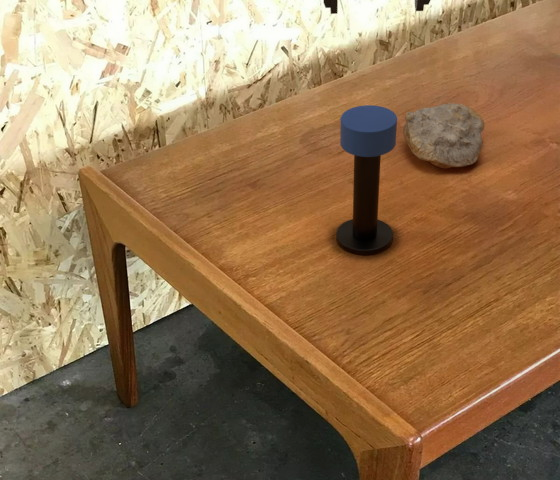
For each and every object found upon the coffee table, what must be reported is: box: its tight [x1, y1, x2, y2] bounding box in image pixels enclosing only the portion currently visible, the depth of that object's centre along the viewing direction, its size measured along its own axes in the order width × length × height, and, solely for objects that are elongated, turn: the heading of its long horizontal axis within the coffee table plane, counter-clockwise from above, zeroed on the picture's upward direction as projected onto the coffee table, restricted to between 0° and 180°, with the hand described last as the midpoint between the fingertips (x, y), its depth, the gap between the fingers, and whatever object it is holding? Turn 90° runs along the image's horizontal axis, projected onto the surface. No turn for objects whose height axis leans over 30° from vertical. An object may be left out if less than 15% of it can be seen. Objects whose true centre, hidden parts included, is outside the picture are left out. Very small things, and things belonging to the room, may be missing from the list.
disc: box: [339, 104, 398, 157], centre depth 88 cm, size 6×6×3 cm
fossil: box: [402, 102, 485, 169], centre depth 110 cm, size 12×8×10 cm
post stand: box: [335, 155, 394, 256], centre depth 94 cm, size 7×7×13 cm
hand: (376, 9), depth 80 cm, fingers open, 8 cm apart
